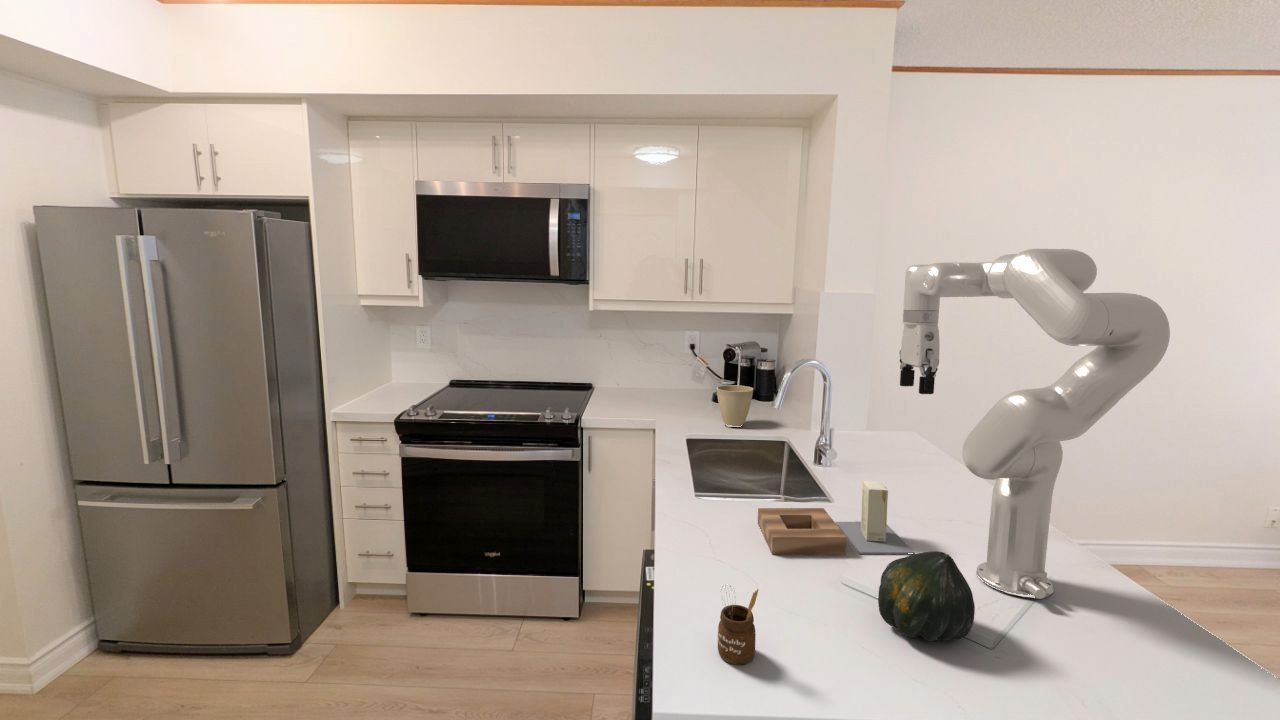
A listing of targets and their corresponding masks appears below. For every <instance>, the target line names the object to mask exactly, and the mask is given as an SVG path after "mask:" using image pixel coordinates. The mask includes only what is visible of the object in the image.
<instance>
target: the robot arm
mask: <svg viewBox="0 0 1280 720" xmlns="http://www.w3.org/2000/svg"><path fill="white" fill-rule="evenodd" d="M1097 274H1098V267H1097V264H1096V263H1095V261H1094V259H1093V258H1092V257H1091V256H1090V255H1088V254H1087V253H1085V252H1082V251H1080V250H1077V249H1071V248H1030V249H1027V250H1026V249H1025V250H1023V251H1020V252H1018V253H1013V254H1012V253H1011V254H1004V255H1001V256H998V257H997V258H996V259H994V261H984V262H935V263H930V264H912V265H910V266H908V267H907V268H906V270H905V277H904V278H905V279H904V292H903V293H904V294H903V295H904V296H903V310H902V325H903V330H902V338H901V345H900V346H901V348H900V350H899V352H898V353H899V358H900V359H899V363H900V366H899V369H900V374H899V386H900V387H913V386H914V384H915V369H914V368H918V369H919V371H920V374H921V376H919V383H918V394H920V395H933V394H934V392H935V380H936V379H935V378H936V377H937V371H938V370H939V368H938V367H939V364H940V347H941V346H940V330H939V317H940V301H941V298H973V297H974V298H975V297H976V298H977V297H978V298H979V297H982V298H983V297H998V298H1000V299H1006V300H1007V299H1013V300H1015V301H1016V302H1017V304H1018V305H1019V306H1020V307H1022V309H1023V310H1024V311H1025V312H1026V313H1027V315H1028V316H1030V317H1031V319H1033V320H1034V322H1035V323H1036V324H1037V325H1038V326H1039V327H1040V328H1041V329H1042V331H1044V332H1045V333H1046V334H1047V335H1048V336H1049V337H1050V338H1051V339H1053V340H1055V341H1056V342H1058V343H1060V344H1063V345H1065V346H1071V347H1093V346H1094V347H1095V348H1094V349H1092V351H1090V352H1088V353H1087V354H1085V355H1084V356H1082V357H1081V358H1079V359H1078V360H1076V361H1075V362H1074V363H1073V364H1071V366H1070V367H1069V368H1068V369H1067V370H1066V372H1064V374H1062V375H1061V376H1060V377H1059V378H1058V379H1057V380H1056V381H1055V382H1054V383H1052V384H1051V385H1047V386H1045V387H1039V388H1028V389H1027V388H1025V389H1019V390H1016V391H1013V392H1011V393H1008V394H1007V395H1004V396H1003V397H1002V398H1000V399H999V400H998V401H997V402H996V403H995V404H994V405H993V406H992V407H991V408H990V409H989V410H988V412H987V413H986V414H985V415H984V416H983V417H982V419H980V421H979V422H977V424H976V425H975V426H974V428H972V430H971V431H970V432H969V434H968V435H967V437H966V438H965V440H964V442H963V445H962V452H961V453H962V460H963V462H964V464H965V465H964V466H965V467H966V468H967V470H968V471H969V472H971V473H972V474H973V475H974V476H977V477H978V478H981V479H984V480H992V481H994V480H995V482H994V485H993V489H992V492H991V493H992V494H991V501H990V502H991V504H990V514H989V515H990V516H989V527H988V541H987V552H986V553H987V554H986V561H984V562H982V563H980V564H978V565H977V567H976V576H977V575H978V576H979V577H980V578H981V579H982V580H983V581H984V582H986V583H988V584H989V585H991V586H993V587H995V588H997V589H1000V590H1003V591H1007V592H1011V593H1016V594H1023V595H1028V594H1029V595H1030V594H1031V595H1034V596H1035V598H1034V599H1037V600H1041V599H1045V598H1048V597H1050V596H1051V595H1052V594H1053V593H1054V585H1053V583H1052V581H1051V580H1050V578H1048V572H1046V571H1045V570H1046V562H1047V561H1046V560H1047V552H1048V541H1049V540H1048V539H1049V530H1050V529H1049V528H1050V521H1051V519H1050V518H1051V511H1052V502H1053V501H1052V500H1053V494H1054V489H1055V485H1056V480H1057V477H1058V475H1059V472H1060V469H1061V466H1062V463H1063V455H1064V453H1063V447H1062V444H1061V442H1064V441H1065V442H1066V441H1071V440H1075V439H1077V438H1079V437H1081V436H1082V435H1084V434H1085V433H1086V432H1088V430H1090V429H1091V428H1092V427H1094V425H1095V424H1096V423H1097V422H1098V421H1099V420H1100V419H1102V418H1103V416H1105V415H1106V414H1107V413H1108V412H1109V411H1111V410H1112V408H1113V407H1115V406H1116V405H1117V404H1118V403H1119V402H1120V401H1121V399H1123V398H1124V397H1125V396H1126V395H1127V394H1128V393H1129V392H1131V391H1132V390H1133V389H1134V388H1135V387H1137V386H1138V384H1140V383H1141V382H1143V380H1145V378H1147V377H1148V376H1149V375H1150V374H1151V373H1152V372H1153V371H1154V370H1155V368H1156V367H1158V365H1159V363H1160V362H1161V361H1162V360H1163V358H1164V356H1165V354H1166V353H1167V349H1168V347H1169V344H1170V337H1171V328H1170V323H1169V322H1170V321H1169V319H1168V316H1167V314H1166V312H1165V311H1164V309H1163V308H1162V307H1161V306H1160V305H1159V304H1158V302H1156V301H1155V300H1153V299H1152V298H1149V297H1147V296H1144V295H1142V294H1136V293H1129V292H1086V291H1087V290H1088V289H1089V288H1090V287H1091V286H1092V285H1093V284H1094V282H1095V281H1096V277H1097ZM978 576H977V577H978ZM1034 599H1033V600H1034Z"/></svg>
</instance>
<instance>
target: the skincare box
mask: <svg viewBox="0 0 1280 720" xmlns="http://www.w3.org/2000/svg"><path fill="white" fill-rule="evenodd" d="M888 494H889V489H888V488H887V486H886V485H885V484H884V482H882V481H872V480H871V481H870V480H863V481H862V493H861V515H860V516H861V518H860V522H861V532H862V533H863V535H864V537H865V539H866V540H867V541H883V542H885V541H886V524H888V523H887V522H888V521H887V520H888V498H889V497H888V496H889V495H888Z"/></svg>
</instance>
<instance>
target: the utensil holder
mask: <svg viewBox="0 0 1280 720" xmlns="http://www.w3.org/2000/svg"><path fill="white" fill-rule="evenodd" d="M728 587H730V591H731V593H732V594H735V593H736V590H735V588H734V587H732V585H731V584H729V583H728V584H726V587H725V584H723V585H721V589H720V591H723V590H726V589H727V591H728V593H730V591H729V588H728ZM722 589H723V590H722ZM727 591H726V592H725V593H726V595H728V596H729V598H731V597H732V602H731V601H730V602H729V603H730V605H729V603H727V604H728V605H726V603H725V602H726V600H725V598H724V596H721V601H722V606H723V608H722V609H721V611H720V616H719V617H720V618H719V619H720V620H719V623H718V625H717V652H718V654H719V656H720V658H721V659H722V660H724V661H725V662H727V663H729V664H731V665H745V664H746V665H747V664H748V663H750V662H751V661H752V660H753V659H754V657H755V653H756V635H757V634H756V628H755V627H756V626H755V623H754V614H753V612H752V610H753V608H754V606H755V603H756V600H757V597H758V593H759V588H757V589H756V590H755V591H754V592H753V593H752V596H751V598H750V601H749V605H748V607H746V606H743V605H740V604H737V601H734V600H736V598H737V597H736V595H730V594H728V593H727ZM730 596H731V597H730ZM733 597H734V598H733ZM726 598H727V601H729V600H728V597H726ZM733 603H734V604H733Z"/></svg>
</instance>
